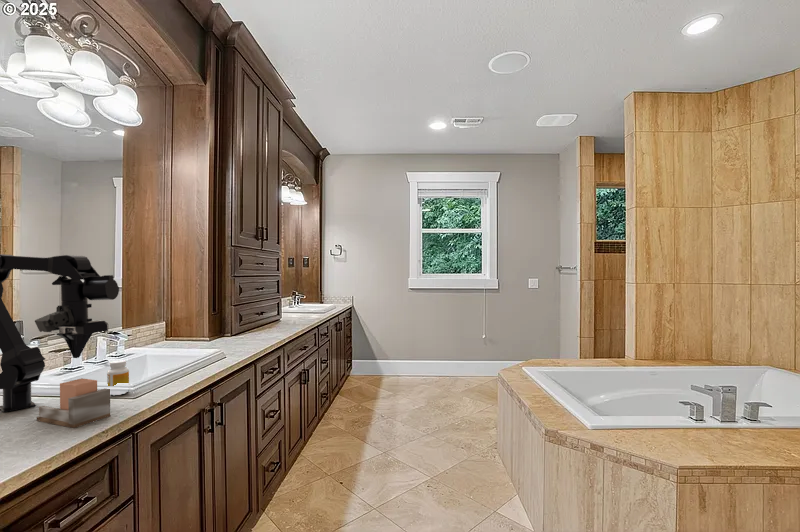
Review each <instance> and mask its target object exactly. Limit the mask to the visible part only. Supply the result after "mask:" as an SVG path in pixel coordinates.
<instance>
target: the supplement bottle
mask: <svg viewBox="0 0 800 532" xmlns="http://www.w3.org/2000/svg"><path fill="white" fill-rule="evenodd" d="M126 365H127V361H126V360H125V359H124V360H123V359H120V360H114V361H110V362H109V368H110V369H108V371H107V373H106V375H107V376H106V377H107V380H106V381H107V382H106V384H108V386H114V385H116V384H117V383H129V384H130V369H129V367H126Z"/></svg>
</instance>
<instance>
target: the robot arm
mask: <svg viewBox="0 0 800 532" xmlns="http://www.w3.org/2000/svg"><path fill="white" fill-rule="evenodd" d="M12 270H23V271H38V272H39V271H41V272H45V273H50V274H53V275H56V276H58V277H57V278H56V279H55V280H54V281H52V283H51V285H52V286H60V299H61V301H60V302H61V303H60V305H57V306H56V311H55V312H52V313H49V314H46V315H43V316H42V317H41V316H40V317H39V318H37V319H35V320H34V323H35V325H36V327H37V329H38V331H39V332H40V333H41V332H43V333H50V332H51V333H52V332H54V331H58V332H59V333H55V335H57V336H58V337H61V338H62V339H64V341H65V343H66V345H67V347H68V349H69V352H70V354H71V355H72V358H73V359H79V358H80V357H81V355H82V353H83V351H84V349H85V347H86V345H87V344H88V342H89V340H90V338H91V337H92V336H93V334H95V333H100V332H101V333H102V332H107V331H109V323H108V322H106V320H93V318H90V317H89V308H92V303H89V301H109V300H111V301H112V300H115V299H117V297H118V295H119V293H120V286H119V284H118V282H117V281H116V280H115V279H114V275H113V274H110V275H109V274H107V275H102V276H101V275H100V274H99V273H98V272H97V270H96V269H95V268H94V266H92V263H91V261H90V259H89V258H88V257H87V256H85V255H74V254H73V255H71V254H69V255H68V254H65V255H64V254H63V255H55V256H49V257H40V256H39V257H38V256H19V255H12V254H1V253H0V351H1V358H0V368H1V372H0V390H2V405H0V409H1V410H2V411H1V410H0V411H1V412H3V413H7V412H6V411H9V412H13V410H14V411H17V410H23V409H29V408H31V407H36V405H37V404H36V403H35V402H34V401H33V400H32V383H33V382H37V381H39V379H40V377H41V375H42V373H43V372H44V369H45V367H46V362H45V360H46V358H45V357H44V356H43V354H42V351H41V349H40V348H39V347H38V346H35V347H30V346H29V345H27V344H26V343H25V340H24V339H23V337H22V335H21V333H20V331H19V330H18V328H17V325H16V324H15V322H14V320H13V318H12V316H11V314H10V313H9V311H8V309H7V306H6V305H5V303H4V301H3V299H2V298H3V293H4V286H3V283H4V282H5V281H6V280H7V279H9V278H10V277H9V276H10V275H11V272H12ZM82 280H83V281H82ZM88 300H89V301H88Z"/></svg>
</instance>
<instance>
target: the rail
mask: <svg viewBox="0 0 800 532" xmlns="http://www.w3.org/2000/svg"><path fill="white" fill-rule="evenodd" d="M68 406H69V410H63V409H60V408H58V407H57V408H56V407H53V406H52V407H51V406H45V405H41V406H39V407H38V416H37V417H36V421H37V422H42V423H47V424H52V425H56V426H61V427H67V428H72V429H75V428H79V427H83V426H85V425H88V424H90V422H91V423H94V422H96V420H97V421H100V420H103V419H107V418H110V417H111V396H110V389H107V388H101V389H97V391H94V392H90V393H86V394H83V395H79V396H75V397H71V398H68ZM93 421H94V422H93ZM84 424H85V425H84Z"/></svg>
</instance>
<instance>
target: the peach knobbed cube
mask: <svg viewBox="0 0 800 532" xmlns="http://www.w3.org/2000/svg"><path fill="white" fill-rule="evenodd" d="M94 391H98V380H97V379H96V380H95V379H91V378H90V379H88V378H82V377H81V378H77V379H73V380H69V381H64V382H61V383H59V409H63V410H69V406H68V398H71V397H75V396H79V395H83V394H86V393H90V392H94Z"/></svg>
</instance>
